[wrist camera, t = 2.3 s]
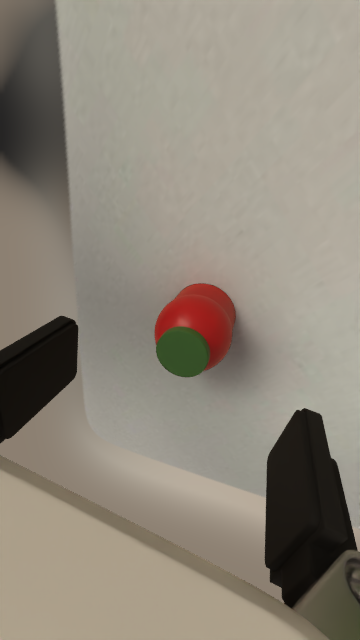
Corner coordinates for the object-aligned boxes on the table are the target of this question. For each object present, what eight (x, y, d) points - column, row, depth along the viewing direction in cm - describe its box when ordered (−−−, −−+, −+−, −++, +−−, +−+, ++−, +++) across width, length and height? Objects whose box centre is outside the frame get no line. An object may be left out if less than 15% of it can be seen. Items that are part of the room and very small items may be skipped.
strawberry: (159, 309, 18) (124, 347, 13) (203, 267, 15) (178, 296, 11) (203, 353, 18) (183, 403, 14) (251, 318, 16) (245, 363, 12)
